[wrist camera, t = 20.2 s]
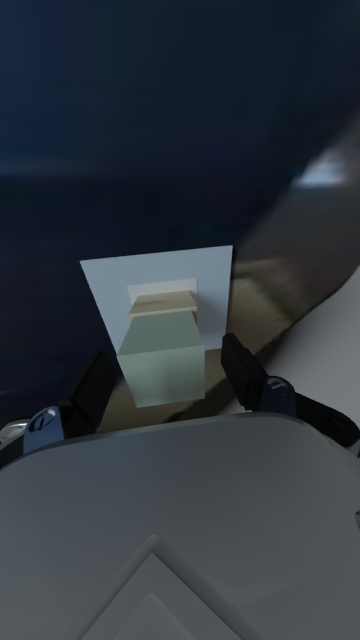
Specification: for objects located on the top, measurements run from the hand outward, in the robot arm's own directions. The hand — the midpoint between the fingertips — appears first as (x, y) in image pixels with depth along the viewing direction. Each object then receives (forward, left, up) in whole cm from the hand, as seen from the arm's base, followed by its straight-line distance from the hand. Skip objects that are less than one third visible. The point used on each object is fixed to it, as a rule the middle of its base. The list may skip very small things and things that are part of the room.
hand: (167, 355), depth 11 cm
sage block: (0, 0, -3) cm, 3 cm away
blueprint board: (0, 0, -9) cm, 9 cm away
